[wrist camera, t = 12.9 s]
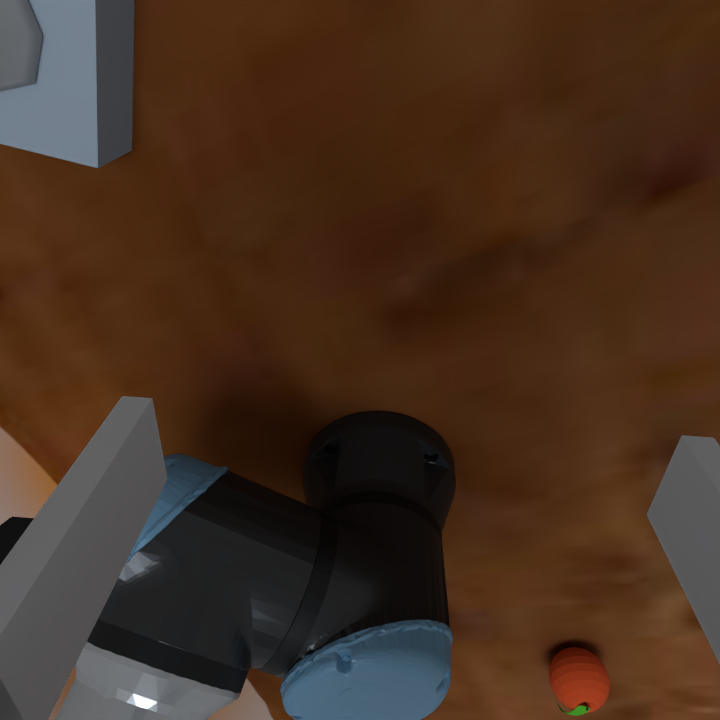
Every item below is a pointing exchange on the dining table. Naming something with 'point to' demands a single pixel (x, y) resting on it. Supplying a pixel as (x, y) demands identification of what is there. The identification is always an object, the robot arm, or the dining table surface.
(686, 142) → the dining table surface
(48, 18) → the grey block
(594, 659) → the clementine
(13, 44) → the flask
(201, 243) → the dining table surface
